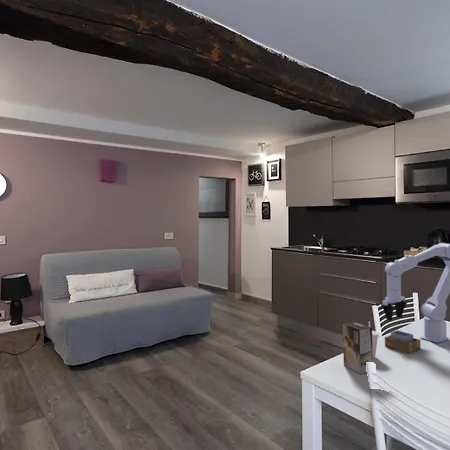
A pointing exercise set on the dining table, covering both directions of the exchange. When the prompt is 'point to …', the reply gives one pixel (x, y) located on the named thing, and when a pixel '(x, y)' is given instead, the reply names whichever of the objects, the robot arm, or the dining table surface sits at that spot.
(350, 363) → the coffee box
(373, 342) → the smoothie
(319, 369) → the dining table surface
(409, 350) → the walnut crate
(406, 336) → the slate crate
